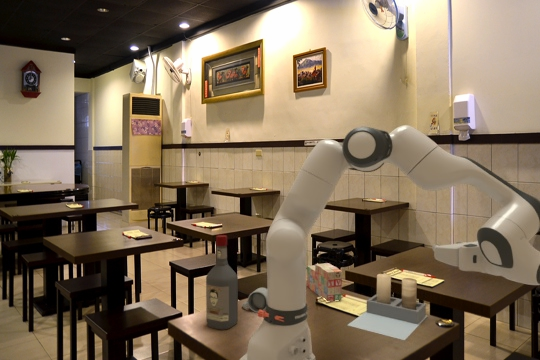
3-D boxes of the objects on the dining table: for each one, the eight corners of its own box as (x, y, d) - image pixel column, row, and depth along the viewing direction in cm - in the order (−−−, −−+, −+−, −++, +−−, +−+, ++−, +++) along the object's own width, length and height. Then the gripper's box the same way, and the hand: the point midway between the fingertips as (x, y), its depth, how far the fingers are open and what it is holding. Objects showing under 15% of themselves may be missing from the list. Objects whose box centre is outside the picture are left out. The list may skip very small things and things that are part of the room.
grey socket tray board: (404, 343, 126) (405, 298, 125) (347, 328, 137) (347, 286, 136) (427, 318, 145) (428, 279, 144) (375, 307, 156) (376, 270, 156)
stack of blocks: (306, 286, 182) (306, 258, 181) (319, 285, 183) (320, 257, 183) (327, 303, 161) (327, 271, 160) (341, 301, 163) (342, 270, 162)
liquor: (218, 317, 147) (218, 232, 145) (240, 321, 142) (240, 235, 141) (202, 326, 139) (202, 237, 137) (225, 331, 134) (225, 239, 133)
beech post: (413, 312, 140) (414, 283, 140) (399, 309, 143) (400, 280, 143) (417, 307, 144) (418, 279, 144) (404, 305, 147) (404, 277, 147)
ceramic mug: (272, 305, 158) (272, 285, 158) (267, 313, 150) (267, 292, 150) (246, 303, 160) (245, 284, 160) (239, 311, 153) (239, 290, 152)
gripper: (514, 241, 115) (471, 232, 128) (459, 247, 107) (420, 238, 119) (513, 263, 115) (471, 253, 128) (459, 271, 107) (419, 259, 120)
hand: (446, 245), depth 124 cm, fingers open, 8 cm apart
